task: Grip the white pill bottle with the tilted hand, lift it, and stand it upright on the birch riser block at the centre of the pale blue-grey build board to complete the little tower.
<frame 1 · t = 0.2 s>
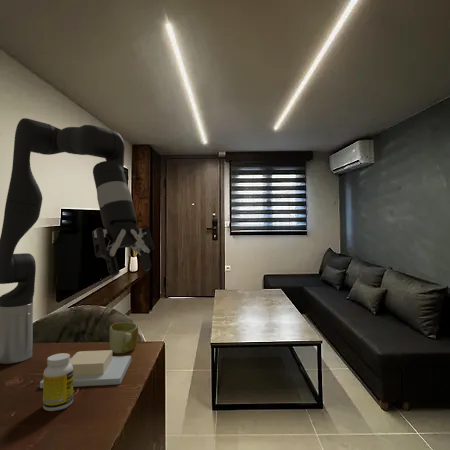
hand: (132, 272, 72), 31 cm above the table, fingers open, 8 cm apart
pill bottle: (58, 405, 75), on the table
mug: (123, 351, 110), on the table
build board: (90, 373, 92), on the table
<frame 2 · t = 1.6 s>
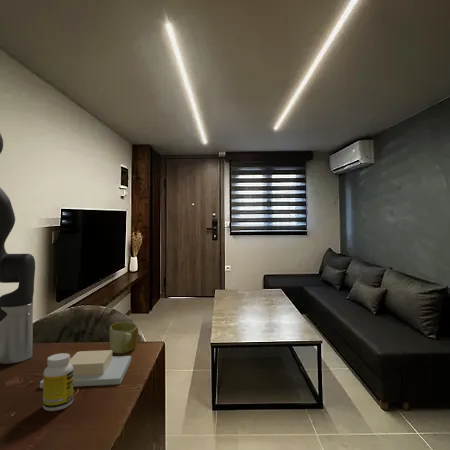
hand: (0, 314, 68), 23 cm above the table, fingers open, 8 cm apart
nothing on the table moved.
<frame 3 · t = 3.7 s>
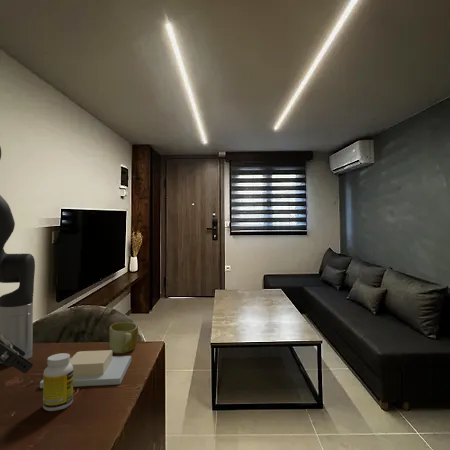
hand: (25, 362, 71), 11 cm above the table, fingers open, 8 cm apart
nothing on the table moved.
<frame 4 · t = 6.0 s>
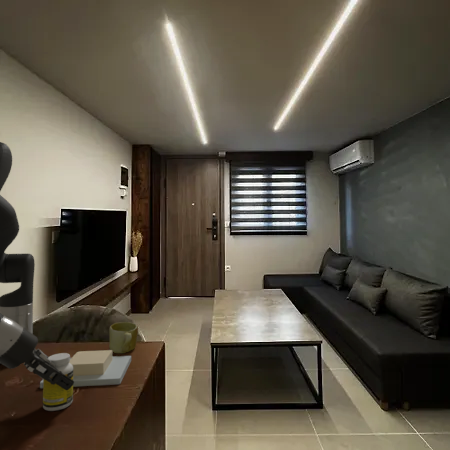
hand: (66, 380, 76), 5 cm above the table, fingers closed on pill bottle, 6 cm apart
pill bottle: (58, 405, 75), on the table, touching gripper
everything else where it was.
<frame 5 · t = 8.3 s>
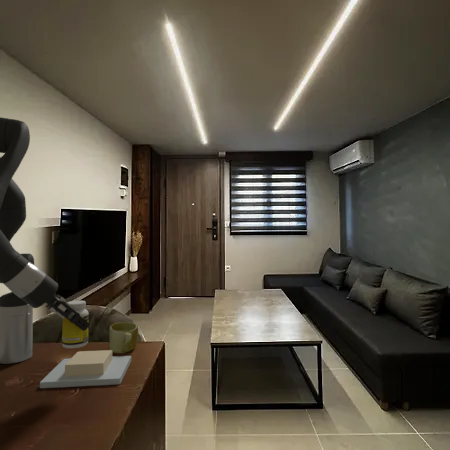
hand: (82, 324, 86), 16 cm above the table, fingers closed on pill bottle, 6 cm apart
pill bottle: (75, 345, 84), point 10 cm above the table, touching gripper
everything else where it was.
when the fingers open (11 cm above the table, at t = 10.6 s): pill bottle drops 1 cm, resting on build board.
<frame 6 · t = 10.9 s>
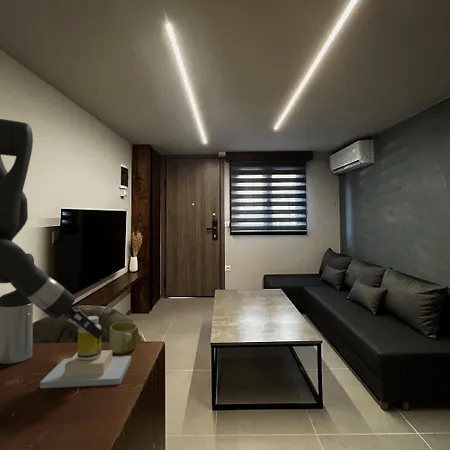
hand: (95, 332, 93), 11 cm above the table, fingers open, 8 cm apart
pill bottle: (89, 357, 92), point 4 cm above the table, touching build board
everything else where it was.
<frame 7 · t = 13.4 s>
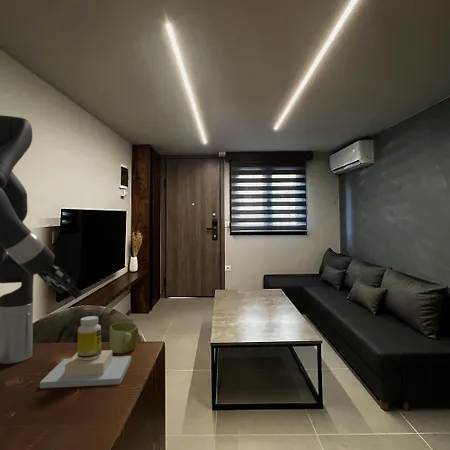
hand: (71, 293, 91), 23 cm above the table, fingers open, 8 cm apart
nothing on the table moved.
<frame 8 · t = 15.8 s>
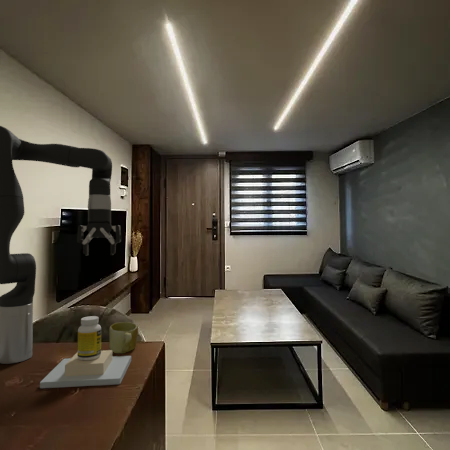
hand: (99, 255, 113), 32 cm above the table, fingers open, 8 cm apart
nothing on the table moved.
at the end: pill bottle inside the target area on the build board (0.2 cm from its centre), point 4.3 cm above the build board's base; pill bottle tilted 0°; the gripper is holding nothing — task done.
